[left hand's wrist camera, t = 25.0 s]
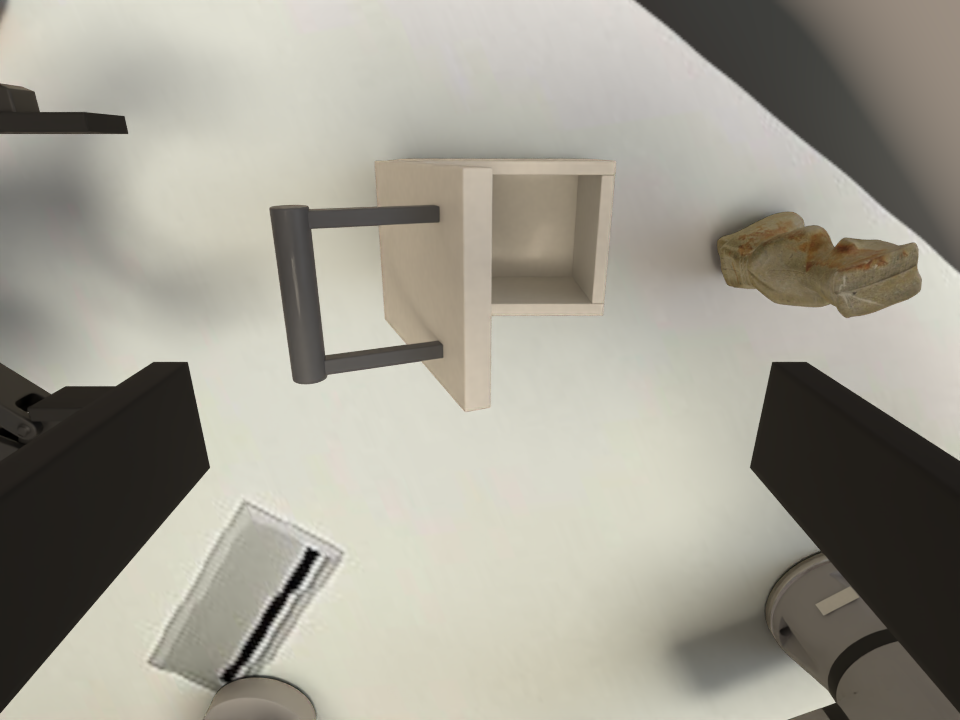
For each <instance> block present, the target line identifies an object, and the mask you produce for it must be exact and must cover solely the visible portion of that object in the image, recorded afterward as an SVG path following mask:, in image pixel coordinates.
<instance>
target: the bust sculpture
mask: <svg viewBox="0 0 960 720" xmlns="http://www.w3.org/2000/svg"><path fill="white" fill-rule="evenodd" d="M203 720H316V714H315V710H314V708H313V706H312V704H311V702H310V701H309V700H308V698H307V697H306V696H305V695H304V694H302V693H301V692H300V691H299V690H297V689H296V688H294V687H292V686H290V685H288V684H286V683H283V682H281V681H277V680H273V679H268V678H245V679H240V680H236V681H234V682H231V683H229V684H227V685H226V686H224V687H223V688H221V689H220V690H219V691H218V692H217V694H216V695H215V697H214V699H213V701H212V703H211V705H210V707H209V709H208V711H207V713H206V715H205V717H204V719H203Z"/></svg>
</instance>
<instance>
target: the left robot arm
mask: <svg viewBox="0 0 960 720" xmlns="http://www.w3.org/2000/svg"><path fill="white" fill-rule="evenodd" d="M209 468H210V465H209V461H208V456H207V451H206V446H205V442H204V437H203V432H202V427H201V423H200V418H199V413H198V409H197V404H196V399H195V394H194V390H193V385H192V380H191V375H190V371H189V366H188V362H153V363H151V364H150V365H148V366H147V367H145V368H144V369H142V370H140V371H139V372H137V373H136V374H134V375H133V376H131V377H130V378H128V379H127V380H125V381H123V382H122V383H120V384H119V385H117V386H116V387H114V388H113V389H111V390H110V391H108V392H106V393H105V394H103V395H102V396H100V397H99V398H97V399H96V400H94V401H92V402H91V403H89V404H88V405H86V406H85V407H83V408H82V409H80V410H79V411H77V412H75V413H74V414H72V415H71V416H69V417H68V418H66V419H65V420H63V421H62V422H60V423H58V424H57V425H55V426H54V427H52V428H51V429H49V430H48V431H46V432H44V433H43V434H41V435H40V436H38V437H37V438H35V439H34V440H32V441H31V442H29V443H27V444H26V445H24V446H23V447H21V448H20V449H18V450H17V451H15V452H14V453H12V454H10V455H9V456H7V457H6V458H4V459H3V460H1V461H0V713H1V712H2V711H3V710H4V708H5V707H6V706H7V705H8V704H9V703H10V701H11V700H12V699H13V698H14V697H15V696H16V694H17V693H18V692H19V691H20V690H21V689H22V687H23V686H24V685H25V684H26V683H27V681H28V680H29V679H30V678H31V677H32V676H33V674H34V673H35V672H36V671H37V670H38V669H39V667H40V666H41V665H42V664H43V663H44V662H45V660H46V659H47V658H48V657H49V656H50V655H51V653H52V652H53V651H54V650H55V649H56V647H57V646H58V645H59V644H60V643H61V642H62V640H63V639H64V638H65V637H66V636H67V635H68V633H69V632H70V631H71V630H72V629H73V628H74V626H75V625H76V624H77V623H78V622H79V621H80V619H81V618H82V617H83V616H84V615H85V614H86V612H87V611H88V610H89V609H90V608H91V606H92V605H93V604H94V603H95V602H96V601H97V599H98V598H99V597H100V596H101V595H102V594H103V592H104V591H105V590H106V589H107V588H108V587H109V585H110V584H111V583H112V582H113V581H114V580H115V578H116V577H117V576H118V575H119V574H120V573H121V571H122V570H123V569H124V568H125V567H126V565H127V564H128V563H129V562H130V561H131V560H132V558H133V557H134V556H135V555H136V554H137V553H138V551H139V550H140V549H141V548H142V547H143V546H144V544H145V543H146V542H147V541H148V540H149V539H150V537H151V536H152V535H153V534H154V533H155V531H156V530H157V529H158V528H159V527H160V526H161V524H162V523H163V522H164V521H165V520H166V519H167V517H168V516H169V515H170V514H171V513H172V512H173V510H174V509H175V508H176V507H177V506H178V505H179V503H180V502H181V501H182V500H183V499H184V498H185V496H186V495H187V494H188V493H189V492H190V490H191V489H192V488H193V487H194V486H195V485H196V483H197V482H198V481H199V480H200V479H201V478H202V476H203V475H204V474H205V473H206V472H207V471H208V469H209ZM750 468H751V469H752V471H753V472H754V473H755V474H756V475H757V476H758V478H759V479H760V480H761V481H762V482H763V483H764V485H765V486H766V487H767V488H768V489H769V490H770V492H771V493H772V494H773V495H774V496H775V498H776V499H777V500H778V501H779V502H780V503H781V505H782V506H783V507H784V508H785V509H786V510H787V512H788V513H789V514H790V515H791V516H792V517H793V519H794V520H795V521H796V522H797V523H798V524H799V526H800V527H801V528H802V529H803V530H804V532H805V533H806V534H807V535H808V536H809V537H810V539H811V540H812V541H813V542H814V543H815V544H816V546H817V547H818V548H819V549H820V550H821V551H822V553H819V554H816V555H814V556H812V557H809V558H807V559H806V560H804V561H802V562H800V563H799V564H797V565H795V566H794V567H793V568H791V569H790V570H789V571H788V572H787V573H785V574H784V575H783V576H782V577H781V578H780V580H779V581H778V582H777V583H776V585H775V586H774V587H773V589H772V591H771V593H770V595H769V597H768V600H767V603H766V609H765V616H766V622H767V625H768V628H769V630H770V631H771V633H772V635H773V636H774V638H775V640H776V641H777V643H778V644H779V646H780V647H781V648H782V649H783V650H784V651H785V653H786V654H787V655H788V656H790V657H791V658H792V659H793V660H794V661H795V662H796V663H798V664H799V665H800V666H801V667H802V668H803V669H804V670H805V671H807V672H808V673H809V674H810V675H811V676H812V677H813V678H815V679H816V680H817V681H818V682H819V683H820V684H821V685H822V686H824V687H825V688H826V689H827V690H828V691H829V693H830V694H831V696H832V697H833V699H834V700H835V702H836V703H834V704H832V705H829V706H826V707H823V708H820V709H817V710H814V711H811V712H808V713H805V714H803V715H800V716H797V717H794V718H791V719H788V720H960V461H959V460H957V459H956V458H954V457H953V456H951V455H950V454H948V453H946V452H945V451H943V450H942V449H940V448H939V447H937V446H936V445H934V444H933V443H931V442H929V441H928V440H926V439H925V438H923V437H922V436H920V435H919V434H917V433H916V432H914V431H912V430H911V429H909V428H908V427H906V426H905V425H903V424H902V423H900V422H898V421H897V420H895V419H894V418H892V417H891V416H889V415H888V414H886V413H885V412H883V411H881V410H880V409H878V408H877V407H875V406H874V405H872V404H871V403H869V402H868V401H866V400H864V399H863V398H861V397H860V396H858V395H857V394H855V393H854V392H852V391H850V390H849V389H847V388H846V387H844V386H843V385H841V384H840V383H838V382H837V381H835V380H833V379H832V378H830V377H829V376H827V375H826V374H824V373H823V372H821V371H820V370H818V369H816V368H815V367H813V366H812V365H810V364H809V363H807V362H772V366H771V371H770V375H769V380H768V385H767V390H766V394H765V399H764V404H763V409H762V413H761V418H760V423H759V427H758V432H757V437H756V442H755V446H754V451H753V456H752V461H751V465H750Z"/></svg>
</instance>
